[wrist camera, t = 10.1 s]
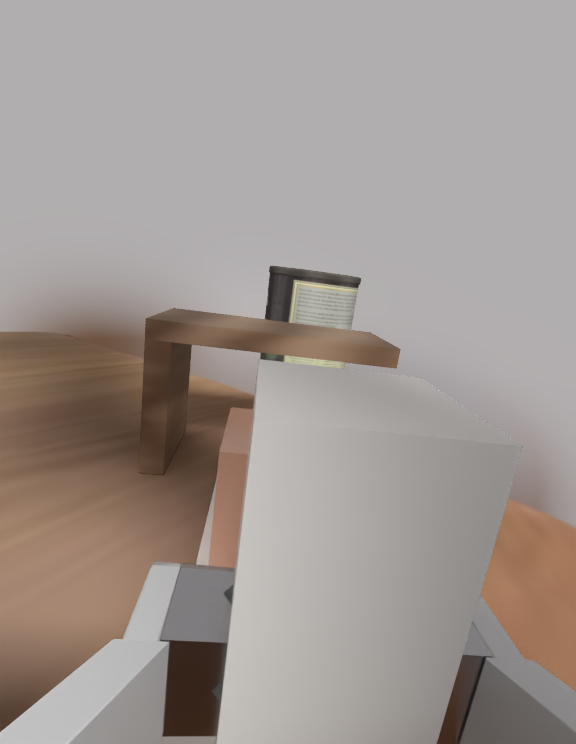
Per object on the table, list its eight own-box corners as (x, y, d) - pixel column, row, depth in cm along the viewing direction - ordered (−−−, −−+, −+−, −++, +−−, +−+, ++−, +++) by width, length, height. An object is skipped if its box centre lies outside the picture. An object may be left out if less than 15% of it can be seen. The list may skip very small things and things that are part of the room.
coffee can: (239, 388, 45) (252, 262, 42) (281, 374, 54) (295, 270, 51) (321, 412, 41) (343, 273, 37) (352, 392, 50) (372, 279, 46)
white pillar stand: (77, 1096, 6) (85, 421, 4) (216, 487, 24) (235, 299, 21) (447, 1079, 7) (692, 480, 4) (315, 495, 24) (345, 313, 21)
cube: (207, 567, 16) (218, 451, 14) (221, 497, 20) (230, 407, 19) (331, 575, 16) (352, 463, 15) (316, 505, 21) (330, 417, 20)
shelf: (138, 472, 25) (146, 318, 22) (166, 429, 31) (173, 308, 29) (371, 493, 26) (400, 349, 24) (349, 447, 33) (370, 332, 30)
